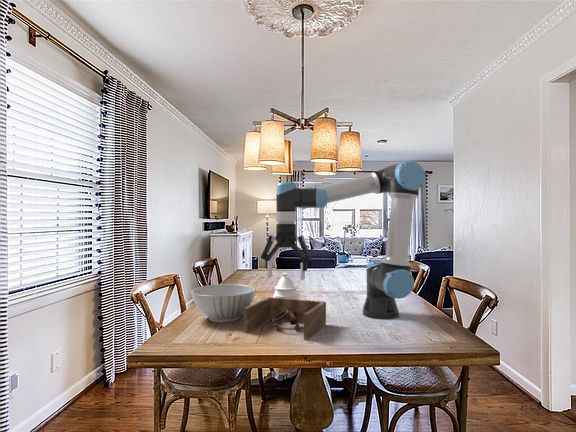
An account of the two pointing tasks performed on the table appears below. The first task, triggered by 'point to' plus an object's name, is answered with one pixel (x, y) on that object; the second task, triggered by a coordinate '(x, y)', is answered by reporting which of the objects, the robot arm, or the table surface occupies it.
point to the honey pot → (285, 288)
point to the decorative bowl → (223, 300)
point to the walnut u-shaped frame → (305, 309)
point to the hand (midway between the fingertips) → (285, 278)
